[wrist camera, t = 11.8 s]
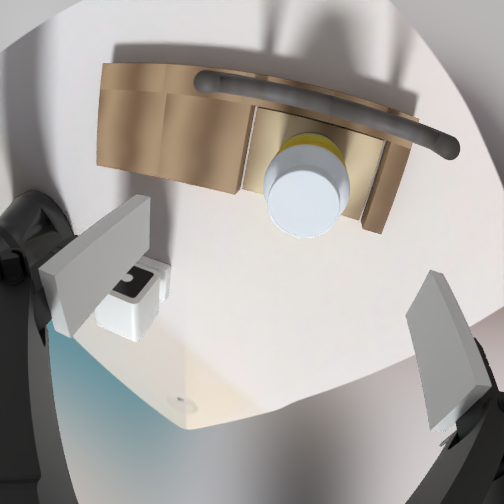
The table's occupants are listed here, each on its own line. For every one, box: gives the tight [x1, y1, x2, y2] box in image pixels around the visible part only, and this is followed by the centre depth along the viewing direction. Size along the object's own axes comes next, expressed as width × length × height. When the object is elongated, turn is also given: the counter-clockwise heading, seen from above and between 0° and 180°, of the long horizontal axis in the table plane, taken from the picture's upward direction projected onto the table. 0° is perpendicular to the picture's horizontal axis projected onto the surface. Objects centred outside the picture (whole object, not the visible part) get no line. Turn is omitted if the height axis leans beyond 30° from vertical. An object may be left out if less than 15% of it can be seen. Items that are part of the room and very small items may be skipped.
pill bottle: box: [263, 132, 350, 238], centre depth 24 cm, size 6×6×12 cm
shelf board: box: [97, 63, 460, 234], centre depth 23 cm, size 32×12×16 cm, turn 80°
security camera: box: [94, 256, 171, 342], centre depth 37 cm, size 6×7×10 cm
